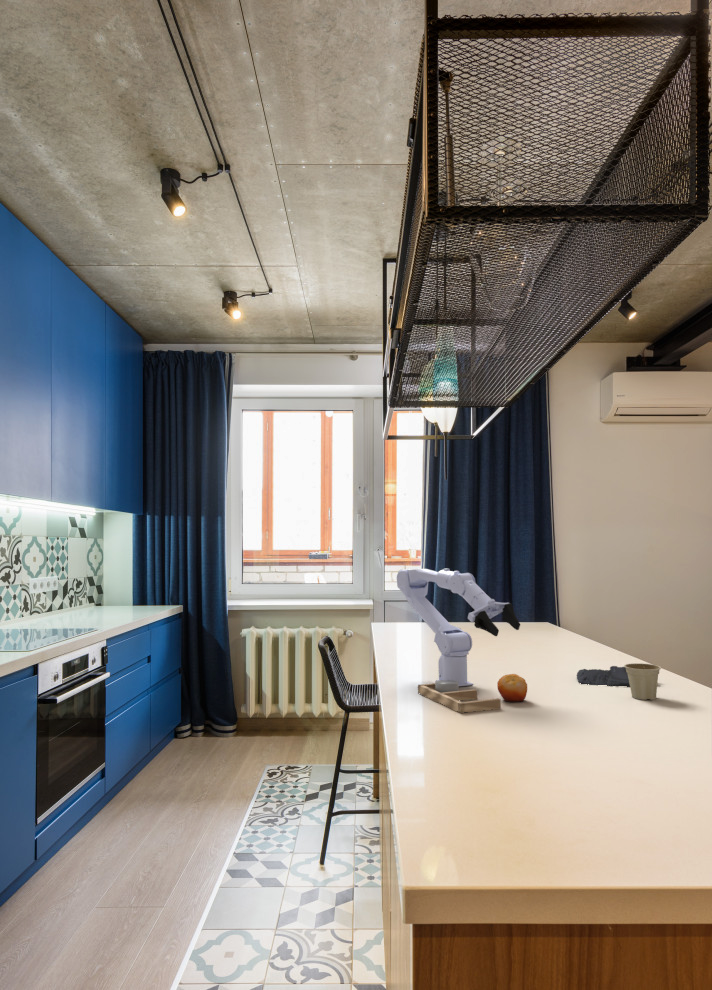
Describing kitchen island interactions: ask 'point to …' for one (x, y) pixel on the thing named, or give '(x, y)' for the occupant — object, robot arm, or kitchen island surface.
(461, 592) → the robot arm
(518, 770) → the kitchen island surface
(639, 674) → the flower pot
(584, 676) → the grey elongated lump
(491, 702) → the wooden tray
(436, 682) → the grey round dome
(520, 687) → the fruit
